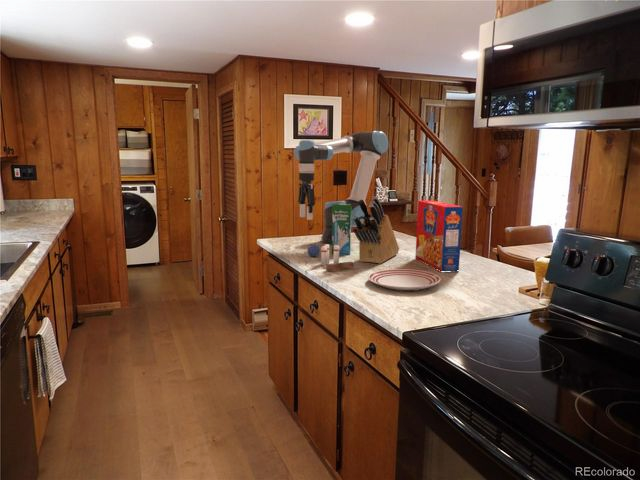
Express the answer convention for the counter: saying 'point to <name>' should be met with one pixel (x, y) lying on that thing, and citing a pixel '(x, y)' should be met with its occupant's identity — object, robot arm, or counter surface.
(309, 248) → the ball
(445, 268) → the pasta box
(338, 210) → the milk carton
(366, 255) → the knife block
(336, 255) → the pin
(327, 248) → the front pin
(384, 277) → the dinner plate
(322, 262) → the pin
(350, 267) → the brown wooden bar
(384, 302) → the counter surface
